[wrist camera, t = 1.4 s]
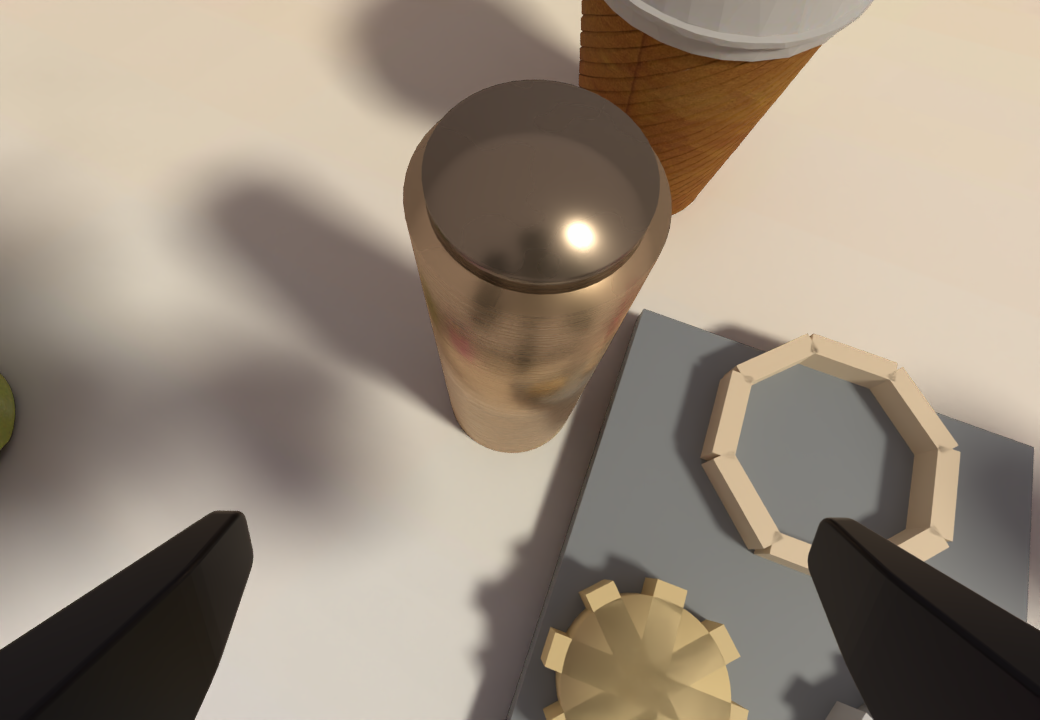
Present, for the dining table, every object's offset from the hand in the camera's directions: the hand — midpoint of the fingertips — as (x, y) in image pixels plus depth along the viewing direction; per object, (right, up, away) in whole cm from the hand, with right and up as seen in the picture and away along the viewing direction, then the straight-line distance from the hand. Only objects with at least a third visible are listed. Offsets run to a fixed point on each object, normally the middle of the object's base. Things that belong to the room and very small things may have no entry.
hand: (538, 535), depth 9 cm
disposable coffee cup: (+5, +12, +18) cm, 23 cm away
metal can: (-1, +1, +14) cm, 14 cm away
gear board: (+8, -8, +11) cm, 16 cm away
